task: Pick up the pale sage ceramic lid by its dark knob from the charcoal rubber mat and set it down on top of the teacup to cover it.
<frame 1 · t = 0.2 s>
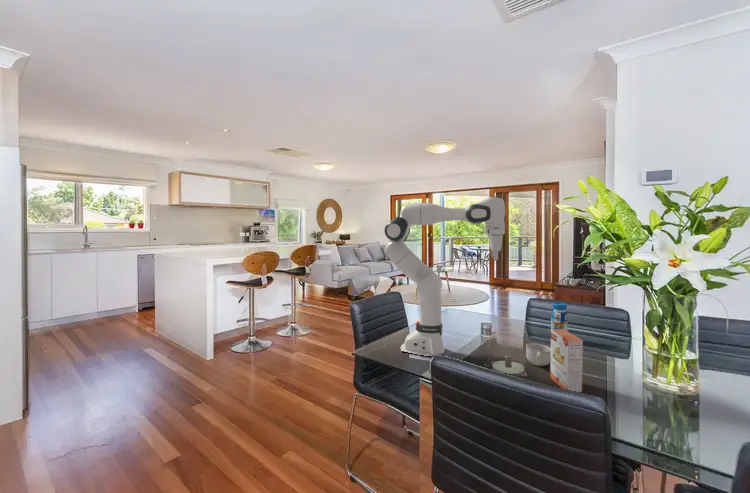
hand: (494, 259, 169), 47 cm above the table, tool pointing down, fingers open, 8 cm apart
cracker box: (565, 386, 139), on the table
teacup: (538, 365, 160), on the table
beverage bottle: (559, 339, 195), on the table
mat: (508, 368, 156), on the table
lid: (508, 362, 156), on the mat
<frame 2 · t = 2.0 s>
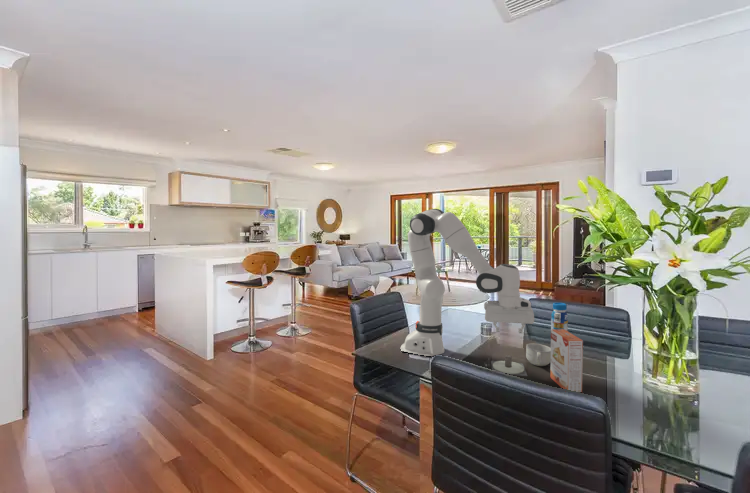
hand: (508, 332, 155), 17 cm above the table, tool pointing down, fingers open, 8 cm apart
nothing on the table moved.
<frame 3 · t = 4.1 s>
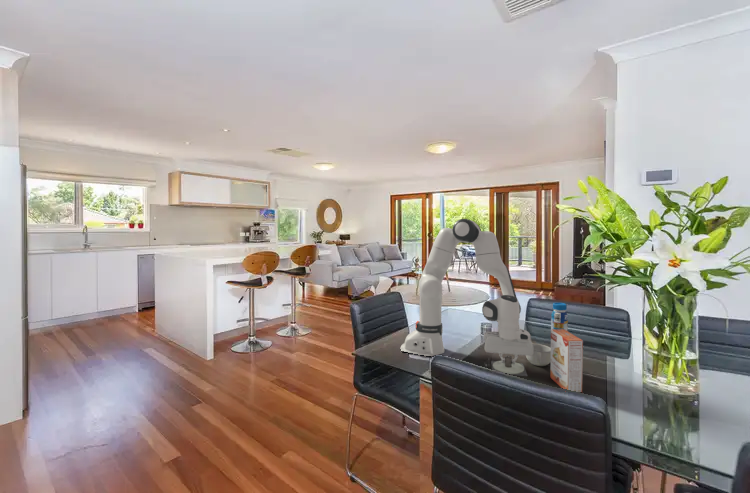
hand: (508, 363, 156), 2 cm above the table, tool pointing down, fingers closed on lid, 3 cm apart
lid: (508, 362, 156), on the mat, touching gripper
everything else where it was.
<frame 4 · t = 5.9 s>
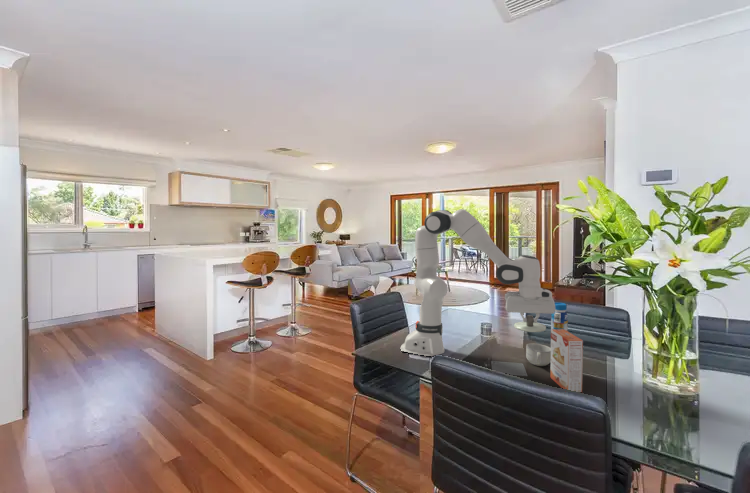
hand: (530, 322, 157), 20 cm above the table, tool pointing down, fingers closed on lid, 3 cm apart
lid: (529, 321, 157), point 20 cm above the table, touching gripper
everything else where it was.
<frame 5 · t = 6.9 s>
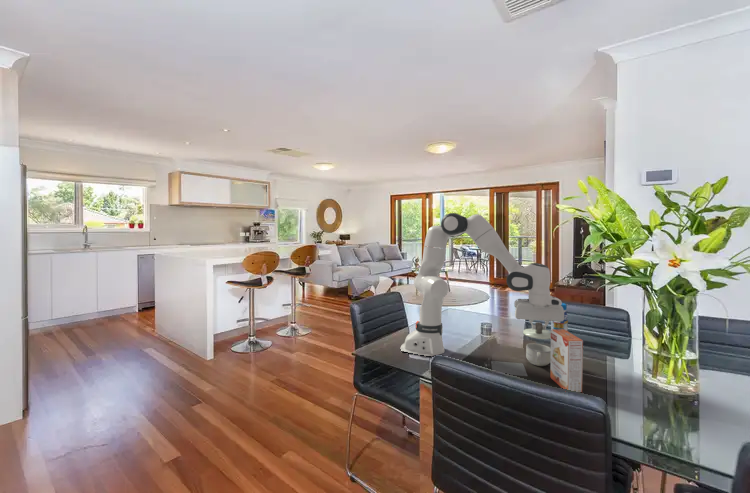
hand: (538, 329, 159), 16 cm above the table, tool pointing down, fingers closed on lid, 3 cm apart
lid: (538, 328, 159), point 17 cm above the table, touching gripper
everything else where it was.
when the fingers open (12 cm above the table, at t = 7.9 s): lid drops 1 cm, resting on teacup.
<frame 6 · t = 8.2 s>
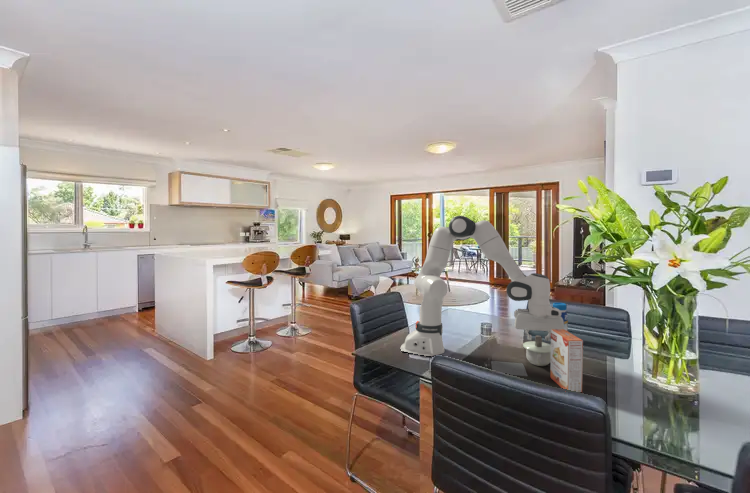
hand: (538, 339, 159), 12 cm above the table, tool pointing down, fingers open, 6 cm apart
teacup: (538, 365, 160), on the table, touching lid
lid: (538, 342, 159), point 10 cm above the table, touching teacup
everything else where it was.
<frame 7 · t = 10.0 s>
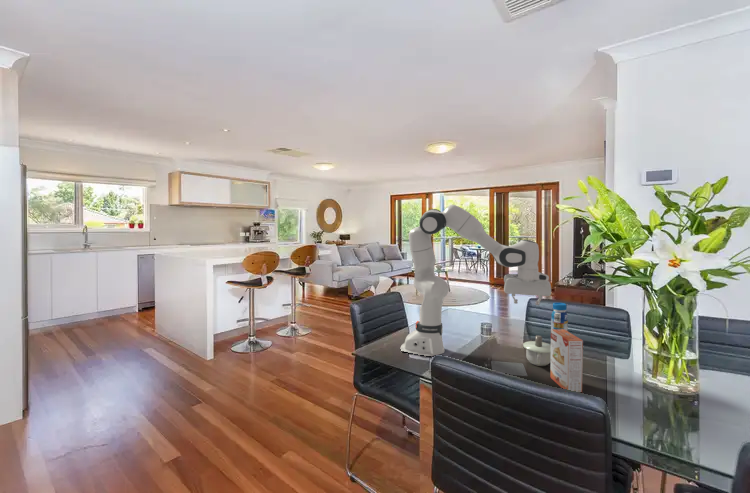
hand: (526, 304, 165), 27 cm above the table, tool pointing down, fingers open, 8 cm apart
nothing on the table moved.
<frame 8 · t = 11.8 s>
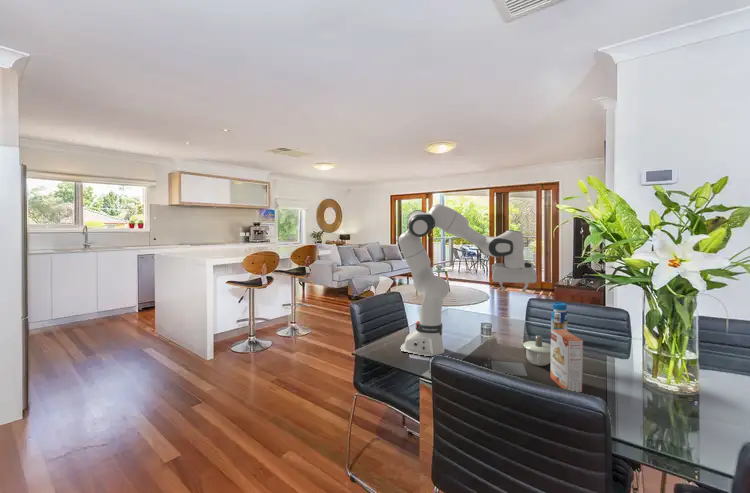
hand: (513, 291, 172), 31 cm above the table, tool pointing down, fingers open, 8 cm apart
nothing on the table moved.
at the end: lid inside the target area on the teacup (0.2 cm from its centre), point 10.8 cm above the teacup's base; lid tilted 0°; the gripper is holding nothing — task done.
